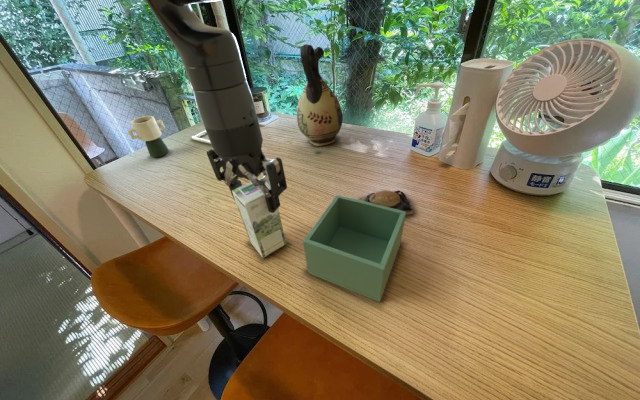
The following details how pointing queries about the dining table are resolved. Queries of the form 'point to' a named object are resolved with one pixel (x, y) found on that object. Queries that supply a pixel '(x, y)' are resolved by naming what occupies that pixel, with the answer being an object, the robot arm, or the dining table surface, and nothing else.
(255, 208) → the syrup box
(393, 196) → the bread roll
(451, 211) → the dining table surface
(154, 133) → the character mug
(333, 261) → the tote
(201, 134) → the photo frame
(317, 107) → the ceramic jug
